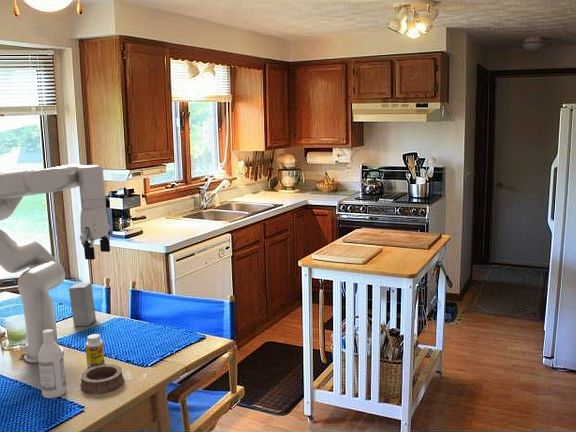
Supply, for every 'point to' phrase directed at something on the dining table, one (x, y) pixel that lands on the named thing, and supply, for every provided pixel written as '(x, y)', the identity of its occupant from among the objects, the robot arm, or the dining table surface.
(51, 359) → the bath foam
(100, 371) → the round brown bowl
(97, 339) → the supplement bottle
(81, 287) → the skincare box
